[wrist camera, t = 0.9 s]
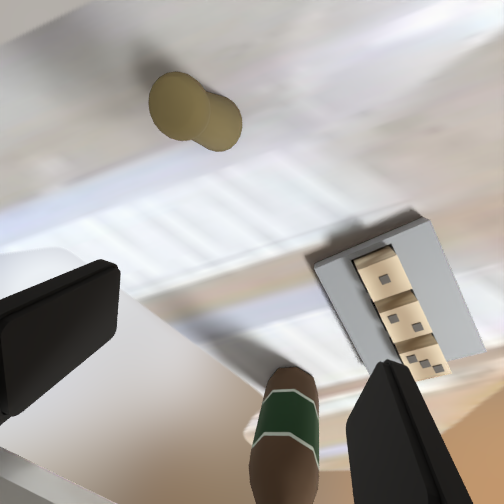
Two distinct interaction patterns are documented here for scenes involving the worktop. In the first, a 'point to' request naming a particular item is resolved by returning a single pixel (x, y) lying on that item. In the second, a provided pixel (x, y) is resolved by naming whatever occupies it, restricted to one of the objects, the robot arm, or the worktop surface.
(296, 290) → the worktop surface
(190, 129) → the cork
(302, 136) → the worktop surface
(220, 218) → the worktop surface
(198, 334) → the worktop surface
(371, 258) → the key
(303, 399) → the beer bottle
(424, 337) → the key
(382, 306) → the key
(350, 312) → the board
